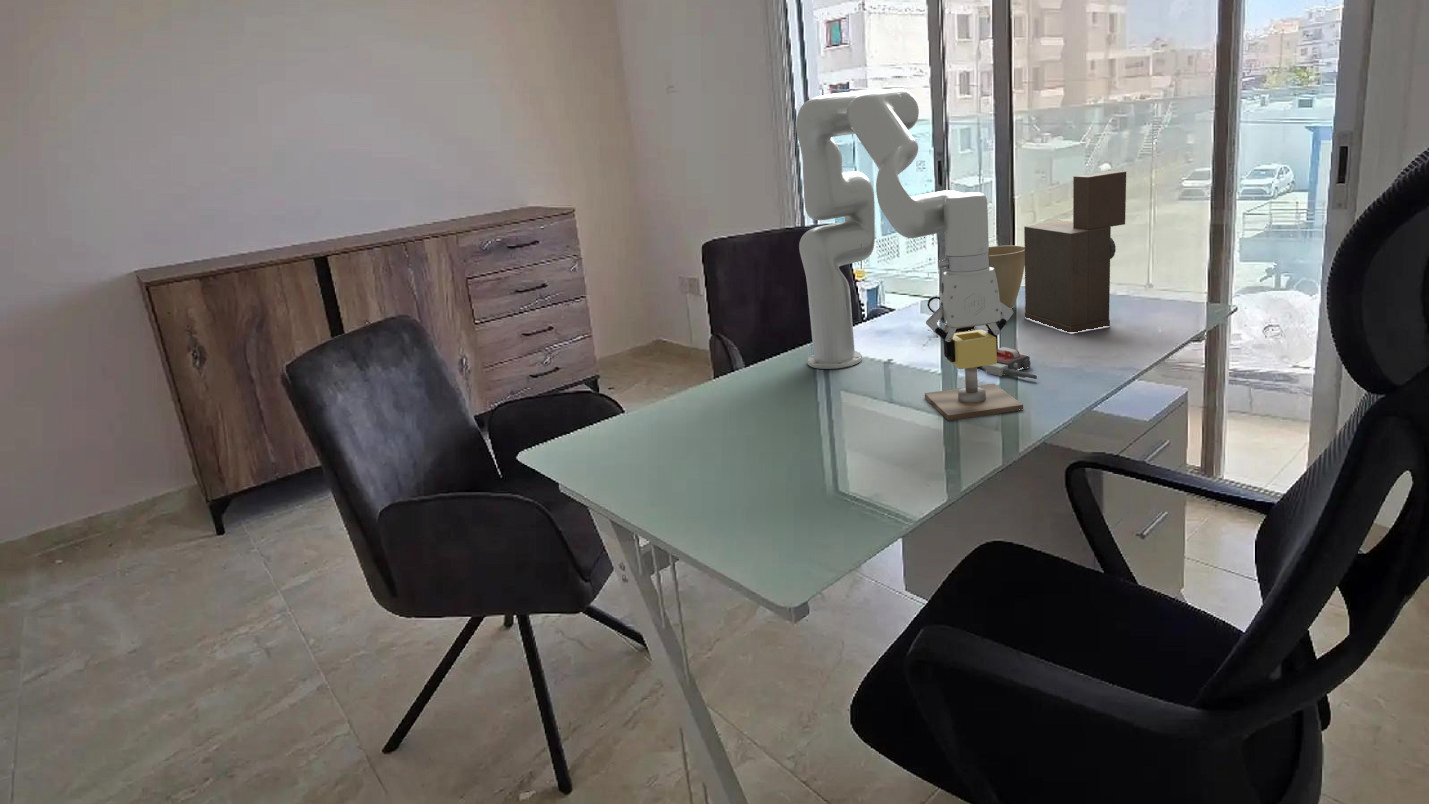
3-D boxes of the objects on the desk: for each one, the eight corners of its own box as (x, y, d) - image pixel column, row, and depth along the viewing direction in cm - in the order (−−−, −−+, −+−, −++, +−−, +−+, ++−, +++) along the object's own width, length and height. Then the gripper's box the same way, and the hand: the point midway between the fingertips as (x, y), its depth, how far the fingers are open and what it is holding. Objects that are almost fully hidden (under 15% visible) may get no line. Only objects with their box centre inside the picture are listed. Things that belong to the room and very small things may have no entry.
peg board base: (924, 398, 173) (922, 344, 169) (994, 388, 173) (992, 334, 170) (948, 420, 159) (945, 362, 156) (1023, 409, 160) (1022, 351, 156)
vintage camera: (1124, 324, 205) (1128, 171, 194) (1070, 334, 202) (1071, 180, 191) (1075, 310, 222) (1075, 169, 212) (1024, 319, 220) (1022, 177, 209)
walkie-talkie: (957, 368, 190) (1032, 385, 173) (956, 348, 188) (1032, 364, 172) (985, 358, 194) (1062, 374, 177) (984, 339, 192) (1062, 353, 176)
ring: (946, 359, 167) (945, 334, 165) (982, 354, 167) (982, 329, 165) (959, 369, 160) (958, 342, 158) (996, 363, 160) (996, 337, 159)
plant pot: (1037, 304, 233) (1036, 245, 228) (1011, 318, 223) (1010, 255, 218) (985, 302, 243) (983, 244, 238) (958, 314, 233) (956, 255, 228)
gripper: (926, 272, 154) (931, 369, 159) (1022, 259, 155) (1024, 356, 160) (914, 266, 161) (919, 359, 166) (1006, 253, 162) (1008, 346, 167)
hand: (971, 356), depth 163 cm, fingers closed on ring, 7 cm apart
